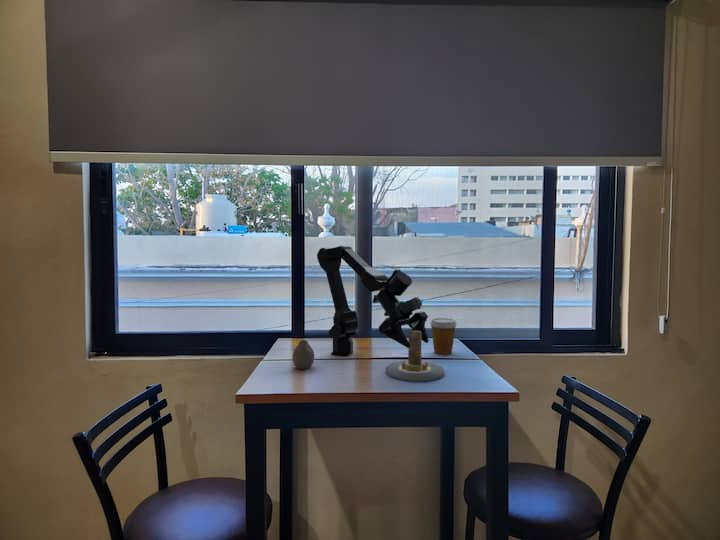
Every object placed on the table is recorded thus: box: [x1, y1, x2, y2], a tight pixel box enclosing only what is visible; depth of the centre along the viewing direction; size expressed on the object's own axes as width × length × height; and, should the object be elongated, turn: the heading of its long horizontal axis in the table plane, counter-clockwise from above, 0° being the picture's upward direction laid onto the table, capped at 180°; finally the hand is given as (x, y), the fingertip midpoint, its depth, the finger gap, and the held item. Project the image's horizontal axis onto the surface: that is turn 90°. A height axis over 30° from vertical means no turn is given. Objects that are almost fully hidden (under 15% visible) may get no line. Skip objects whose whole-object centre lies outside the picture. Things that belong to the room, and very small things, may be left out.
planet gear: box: [402, 329, 429, 372], centre depth 142 cm, size 8×8×12 cm
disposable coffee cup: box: [429, 317, 458, 356], centre depth 167 cm, size 10×10×12 cm
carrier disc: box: [385, 360, 445, 383], centre depth 143 cm, size 18×18×1 cm
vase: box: [292, 339, 315, 370], centre depth 147 cm, size 7×7×9 cm
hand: (418, 344), depth 141 cm, fingers open, 9 cm apart
